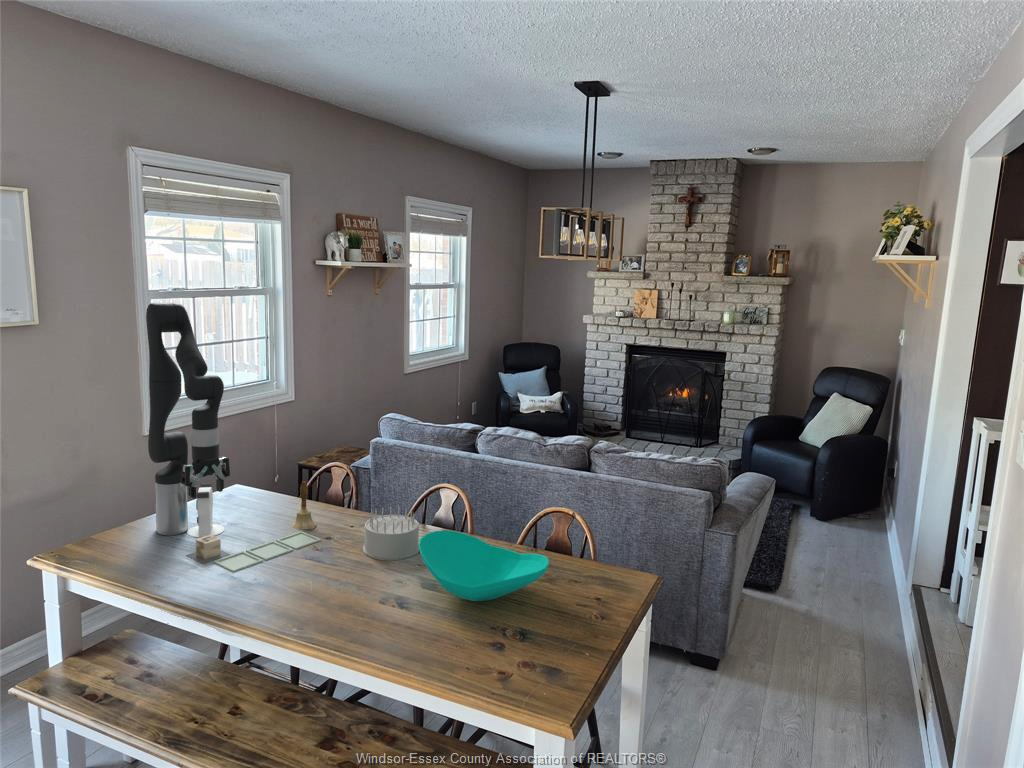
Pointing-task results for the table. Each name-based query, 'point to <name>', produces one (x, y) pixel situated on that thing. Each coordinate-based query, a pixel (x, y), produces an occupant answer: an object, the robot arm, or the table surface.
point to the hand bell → (304, 512)
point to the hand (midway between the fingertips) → (206, 494)
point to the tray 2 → (269, 550)
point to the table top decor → (478, 566)
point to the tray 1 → (238, 561)
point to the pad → (202, 560)
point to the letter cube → (208, 547)
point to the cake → (391, 536)
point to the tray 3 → (298, 540)
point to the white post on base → (205, 514)
